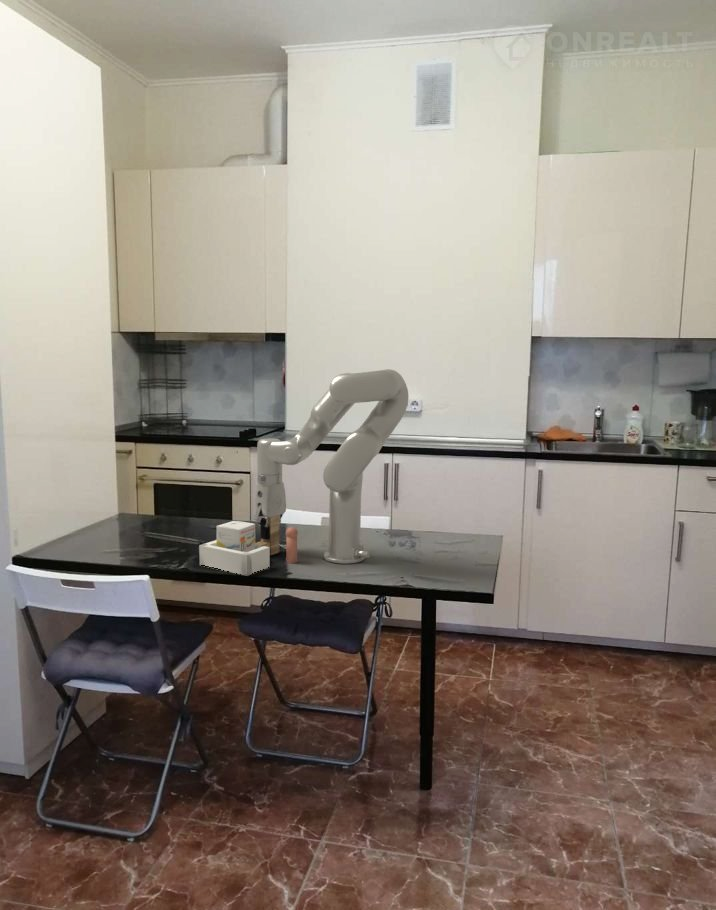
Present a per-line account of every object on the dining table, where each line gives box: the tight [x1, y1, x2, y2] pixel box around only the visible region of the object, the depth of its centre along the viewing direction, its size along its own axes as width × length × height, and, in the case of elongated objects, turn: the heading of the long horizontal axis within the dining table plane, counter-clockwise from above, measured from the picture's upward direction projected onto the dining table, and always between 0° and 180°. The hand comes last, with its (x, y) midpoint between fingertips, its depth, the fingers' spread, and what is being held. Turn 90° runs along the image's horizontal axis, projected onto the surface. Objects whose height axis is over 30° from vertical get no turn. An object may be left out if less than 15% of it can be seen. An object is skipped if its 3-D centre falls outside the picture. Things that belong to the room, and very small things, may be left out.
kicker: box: [255, 515, 280, 556], centre depth 221 cm, size 10×11×14 cm
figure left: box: [285, 526, 299, 564], centre depth 215 cm, size 4×4×11 cm
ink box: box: [216, 520, 256, 552], centre depth 214 cm, size 9×8×12 cm
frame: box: [198, 539, 271, 577], centre depth 210 cm, size 18×10×6 cm, turn 58°
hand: (270, 536), depth 224 cm, fingers closed on kicker, 4 cm apart
